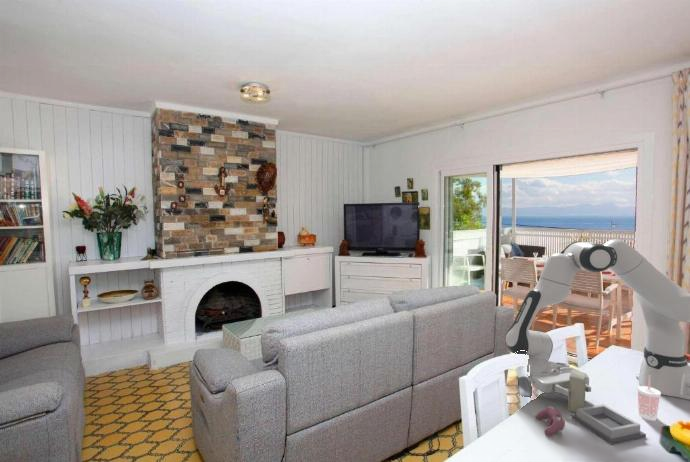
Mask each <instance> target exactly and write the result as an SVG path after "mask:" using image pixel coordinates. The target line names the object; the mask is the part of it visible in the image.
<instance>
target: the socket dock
mask: <svg viewBox="0 0 690 462" xmlns="http://www.w3.org/2000/svg"><path fill="white" fill-rule="evenodd" d="M570 418H571V419H572V420H574V422H577V423H578V424H580V425H581V426H583V427H584V428H585V429H587V430H588V431H590V432H592V433H593V434H595V435H596V436H598V437H600V438H601V439H603V440H605V442H607V443H609V444H610V445H617V444H621V443H626V442H630V441H635V440H639V439H644V438H647V433H645V432H644V431H641V424H640V423H638V422H637V421H634V420H633V419H630V418H629V417H627V416H626V415H623V414H621V413H620V412H618V411H616V410H614V409H613V408H611V407H609V406H607V405H606V404H603V403H602V404H596V405H592V406H587V407H584V408H579V409H577V413H575V414H571V416H570Z"/></svg>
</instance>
